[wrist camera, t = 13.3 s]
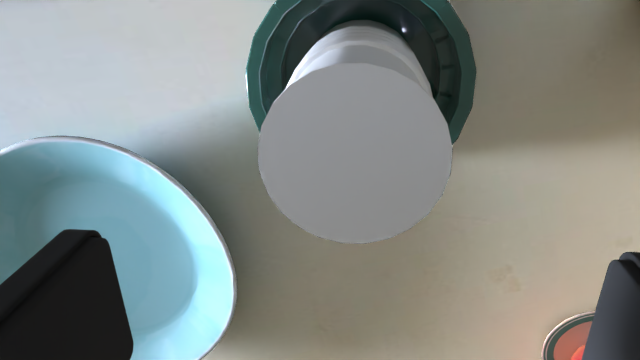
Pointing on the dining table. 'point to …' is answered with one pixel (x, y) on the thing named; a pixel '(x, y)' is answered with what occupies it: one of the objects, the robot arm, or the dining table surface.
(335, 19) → the bowl
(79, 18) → the dining table surface
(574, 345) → the apple
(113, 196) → the plate
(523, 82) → the dining table surface
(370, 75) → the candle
